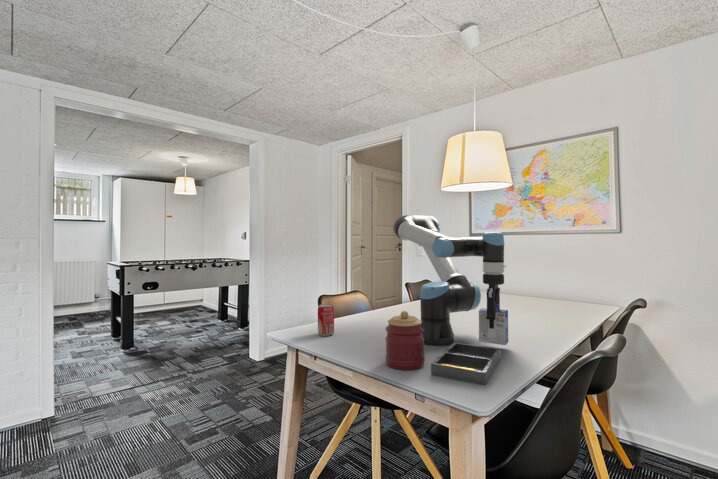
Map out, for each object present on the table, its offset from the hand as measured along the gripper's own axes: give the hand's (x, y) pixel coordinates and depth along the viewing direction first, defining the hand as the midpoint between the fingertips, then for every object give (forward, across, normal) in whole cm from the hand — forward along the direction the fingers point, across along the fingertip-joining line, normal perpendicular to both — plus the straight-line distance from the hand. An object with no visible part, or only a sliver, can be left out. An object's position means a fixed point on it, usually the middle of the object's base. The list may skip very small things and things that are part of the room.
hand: (493, 334), depth 135 cm
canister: (+5, -31, +23) cm, 39 cm away
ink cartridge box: (+3, 0, 0) cm, 3 cm away
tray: (+5, -24, +4) cm, 25 cm away
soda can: (+6, -14, +68) cm, 69 cm away
